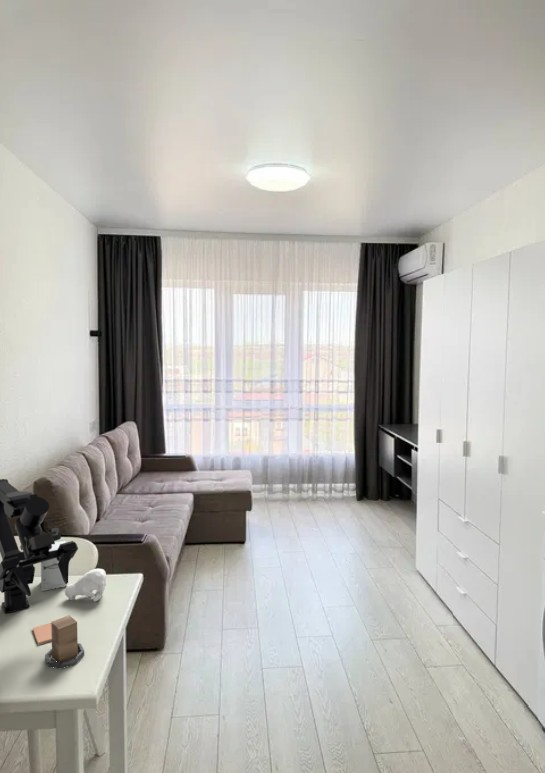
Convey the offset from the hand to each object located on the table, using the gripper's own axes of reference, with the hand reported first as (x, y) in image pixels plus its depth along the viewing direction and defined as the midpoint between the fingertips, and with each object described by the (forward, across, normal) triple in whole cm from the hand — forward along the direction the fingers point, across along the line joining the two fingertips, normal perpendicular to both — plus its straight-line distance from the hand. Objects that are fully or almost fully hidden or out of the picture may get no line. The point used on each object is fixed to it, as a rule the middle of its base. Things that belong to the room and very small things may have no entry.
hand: (48, 589), depth 126 cm
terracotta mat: (+7, +2, +13) cm, 15 cm away
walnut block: (+16, 0, +4) cm, 17 cm away
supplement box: (-12, +13, +31) cm, 36 cm away
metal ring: (+16, 0, +4) cm, 16 cm away
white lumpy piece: (-1, +16, +21) cm, 26 cm away
